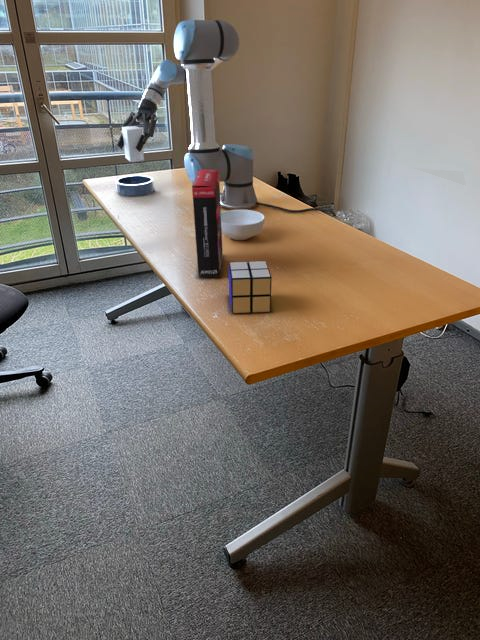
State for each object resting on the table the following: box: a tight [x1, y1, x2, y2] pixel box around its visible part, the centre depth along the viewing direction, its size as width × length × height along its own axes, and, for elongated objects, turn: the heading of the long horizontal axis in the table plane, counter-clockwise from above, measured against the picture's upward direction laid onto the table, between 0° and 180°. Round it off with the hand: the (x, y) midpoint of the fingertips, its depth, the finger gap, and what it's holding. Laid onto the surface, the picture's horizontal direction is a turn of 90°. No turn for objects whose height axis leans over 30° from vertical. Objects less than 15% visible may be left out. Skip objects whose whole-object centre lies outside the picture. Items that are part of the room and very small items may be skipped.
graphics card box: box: [191, 170, 224, 279], centre depth 146 cm, size 17×7×27 cm, turn 179°
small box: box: [121, 125, 145, 163], centre depth 214 cm, size 8×6×13 cm
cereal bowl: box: [221, 209, 266, 241], centre depth 173 cm, size 17×17×7 cm
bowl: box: [115, 174, 155, 197], centre depth 220 cm, size 16×16×5 cm
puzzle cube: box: [228, 260, 273, 315], centre depth 130 cm, size 10×10×10 cm
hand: (128, 148), depth 212 cm, fingers closed on small box, 10 cm apart
